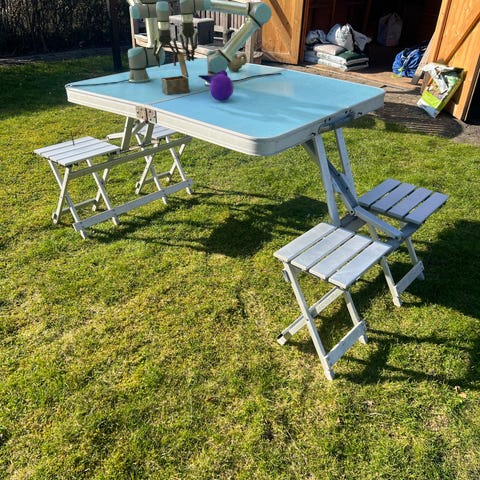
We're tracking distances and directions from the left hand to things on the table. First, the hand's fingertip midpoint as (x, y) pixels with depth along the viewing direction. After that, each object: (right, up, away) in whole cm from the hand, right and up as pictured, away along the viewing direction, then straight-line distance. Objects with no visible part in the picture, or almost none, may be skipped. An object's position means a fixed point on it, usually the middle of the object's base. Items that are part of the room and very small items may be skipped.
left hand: (166, 66), depth 295 cm
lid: (+9, +3, +3) cm, 10 cm away
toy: (+34, -24, -9) cm, 43 cm away
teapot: (+44, +24, +73) cm, 88 cm away
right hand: (+15, +6, +5) cm, 17 cm away
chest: (+5, -13, +10) cm, 17 cm away
